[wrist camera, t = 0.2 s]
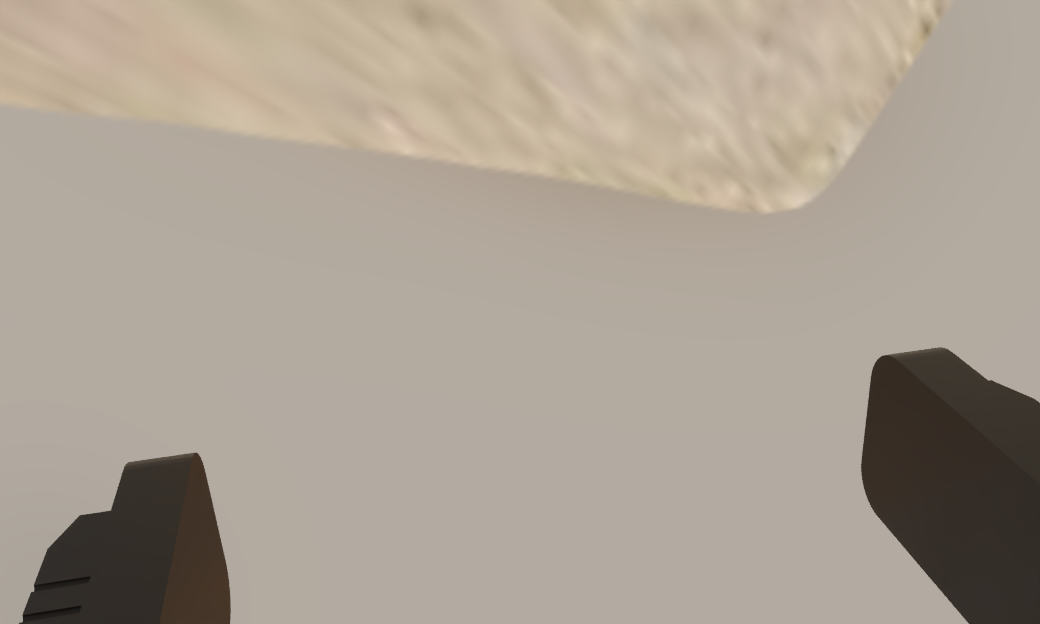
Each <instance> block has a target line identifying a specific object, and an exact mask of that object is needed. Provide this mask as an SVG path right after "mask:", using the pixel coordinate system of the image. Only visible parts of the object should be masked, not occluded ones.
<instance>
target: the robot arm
mask: <svg viewBox="0 0 1040 624" xmlns="http://www.w3.org/2000/svg"><path fill="white" fill-rule="evenodd" d="M861 471H862V480H863V485H864V489H865V492H866V495H867V498H868V501H869V503H870V505H871V507H872V509H873V510H874V512H875V513H876V515H877V516H878V517H879V518H880V520H881V521H882V522H883V523H884V524H885V525H886V526H887V528H888V529H889V530H890V531H891V533H892V534H893V535H894V536H895V537H896V538H897V540H898V541H899V542H900V543H901V544H902V545H903V546H904V548H905V549H906V550H907V551H908V552H909V554H910V555H911V556H912V557H913V558H914V560H915V561H916V562H917V563H918V564H919V565H920V567H921V568H922V569H923V570H924V571H925V572H926V574H927V575H928V576H929V577H930V578H931V579H932V581H933V582H934V583H935V584H936V585H937V587H938V588H939V589H940V590H941V591H942V592H943V594H944V595H945V596H946V597H947V598H948V600H949V601H950V602H951V603H952V604H953V605H954V607H955V608H956V609H957V610H958V611H959V612H960V614H961V615H962V616H963V617H964V618H965V620H967V622H968V623H969V624H1040V403H1039V402H1038V401H1036V400H1035V399H1033V398H1031V397H1029V396H1026V395H1024V394H1022V393H1019V392H1017V391H1015V390H1012V389H1010V388H1008V387H1005V386H1003V385H1001V384H998V383H996V382H994V381H988V380H987V379H985V378H984V377H983V376H981V375H980V374H979V373H978V372H977V371H975V370H974V369H972V368H971V367H970V366H969V365H967V364H966V363H965V362H964V361H963V360H961V359H960V358H959V357H957V356H956V355H955V354H953V353H952V352H951V351H949V350H948V349H945V348H932V349H925V350H919V351H912V352H904V353H897V354H891V355H885V356H881V357H880V358H879V359H878V360H877V361H876V363H875V365H874V367H873V370H872V375H871V382H870V391H869V400H868V409H867V418H866V427H865V436H864V444H863V453H862V464H861ZM34 588H35V590H34V592H31V594H30V597H29V599H28V602H27V605H26V607H25V610H24V612H23V622H22V623H19V624H230V612H231V610H230V588H229V579H228V572H227V566H226V561H225V557H224V553H223V548H222V543H221V539H220V534H219V530H218V526H217V521H216V517H215V513H214V508H213V504H212V499H211V495H210V490H209V486H208V482H207V478H206V473H205V469H204V466H203V462H202V460H201V457H200V456H199V454H198V453H190V454H183V455H176V456H169V457H162V458H155V459H148V460H141V461H135V462H129V463H127V464H126V466H125V467H124V470H123V473H122V476H121V480H120V483H119V486H118V490H117V493H116V496H115V499H114V503H113V506H112V509H111V511H106V512H100V513H93V514H86V515H80V516H79V517H78V518H77V519H76V520H75V521H74V522H73V523H72V524H71V525H70V526H69V527H68V528H67V529H66V530H65V532H64V533H63V534H62V535H61V536H60V537H59V538H58V539H57V540H56V541H55V542H54V543H53V544H52V545H51V546H50V547H49V548H48V550H47V552H46V555H45V557H44V560H43V563H42V565H41V568H40V571H39V573H38V576H37V578H36V581H35V584H34Z"/></svg>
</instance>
